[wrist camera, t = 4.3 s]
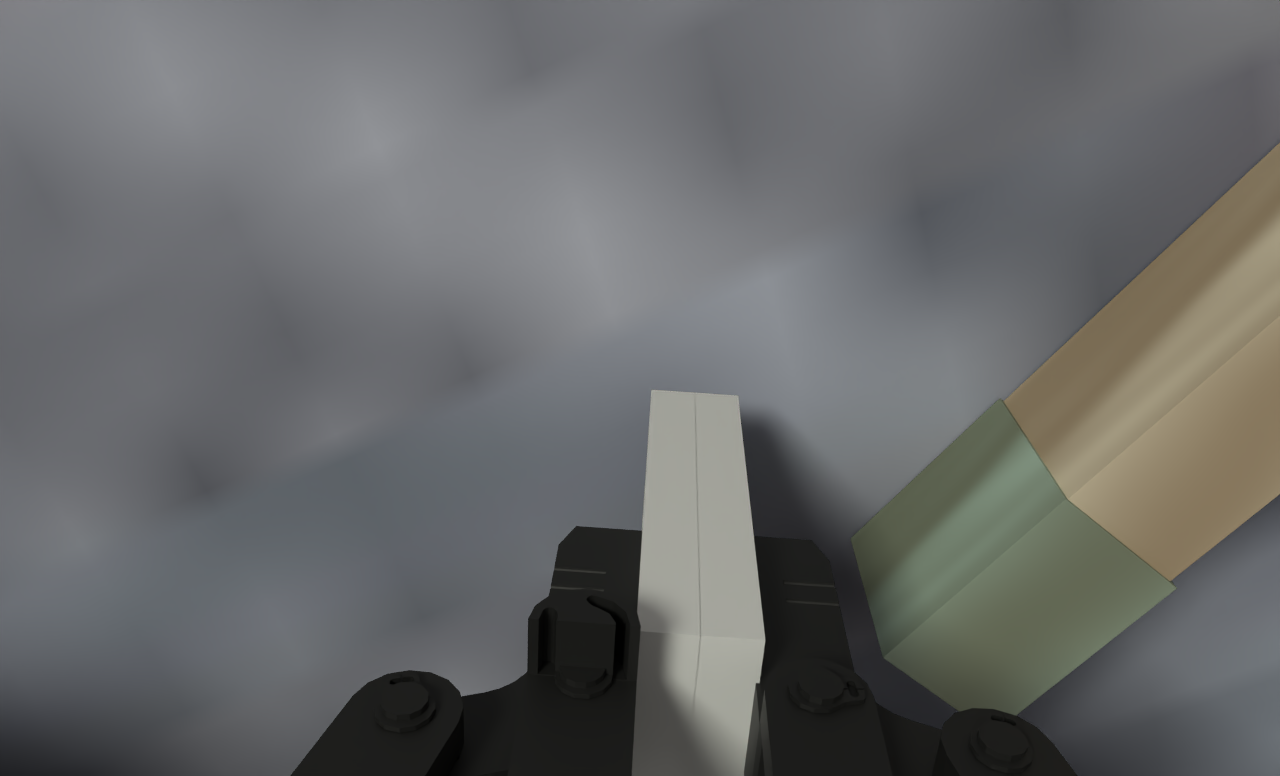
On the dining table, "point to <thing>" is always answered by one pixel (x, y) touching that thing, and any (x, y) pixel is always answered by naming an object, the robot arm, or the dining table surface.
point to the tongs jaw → (1093, 472)
